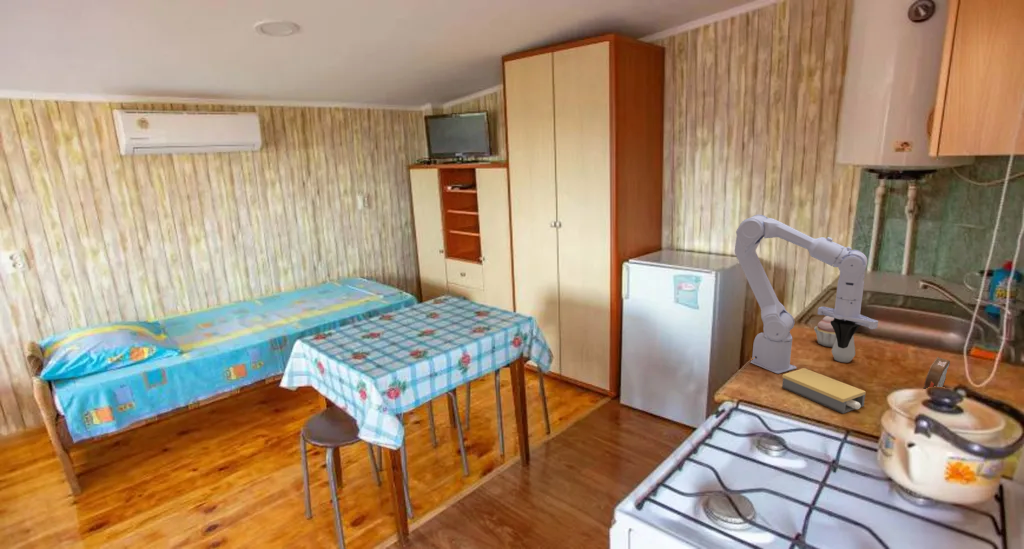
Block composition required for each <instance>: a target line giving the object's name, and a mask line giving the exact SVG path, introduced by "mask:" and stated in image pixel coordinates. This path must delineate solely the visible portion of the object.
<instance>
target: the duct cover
mask: <svg viewBox="0 0 1024 549" xmlns="http://www.w3.org/2000/svg"><path fill="white" fill-rule="evenodd" d="M783 378H785V379H787V380H790V381H792V382H795V383H797V384H799V385H802V386H804V387H807V388H809V389H811V390H814V391H816V392H819V393H821V394H824V395H826V396H828V397H831V398H833V399H836V400H838V401H841V402H846V401H849V400H851V399H854V398H857V397H860V396H862V395H865V396H866V393H867V392H866V391H865V390H863V389H860V388H858V387H855V386H854V385H853V386H852V385H850V384H848V383H845V382H842V381H839V380H837V379H835V378H831V377H829V376H826V375H824V374H821V373H819V372H815V371H813V370H811V369H808V368H806V367H803V368H800V369H796V370H791V371H789V372H786V373H783V374H782V379H783Z"/></svg>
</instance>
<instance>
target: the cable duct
mask: <svg viewBox="0 0 1024 549" xmlns="http://www.w3.org/2000/svg"><path fill="white" fill-rule="evenodd" d="M781 385H782V386H781V388H782V389H785V390H786V391H789V392H791V393H793V392H794V393H793V394H795V395H798V396H800V395H801V396H800V397H803V396H804V397H803V398H805V397H806V398H805V399H807V398H808V400H810V401H813V402H815V403H817V404H819V405H822V406H824V407H826V408H827V409H830V410H833V411H834V412H838V413H839V414H846V413H848V412H851V411H854V410H860V408H862V407H864V406H865V398H866V394H865V395H862V396H860V397H857V398H854V399H851V400H849V401H846V402H841V401H838V400H836V399H833V398H831V397H828V396H826V395H824V394H821V393H819V392H816V391H814V390H811V389H809V388H807V387H804V386H802V385H799V384H797V383H795V382H792V381H790V380H787V379H785V378H782V384H781Z"/></svg>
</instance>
